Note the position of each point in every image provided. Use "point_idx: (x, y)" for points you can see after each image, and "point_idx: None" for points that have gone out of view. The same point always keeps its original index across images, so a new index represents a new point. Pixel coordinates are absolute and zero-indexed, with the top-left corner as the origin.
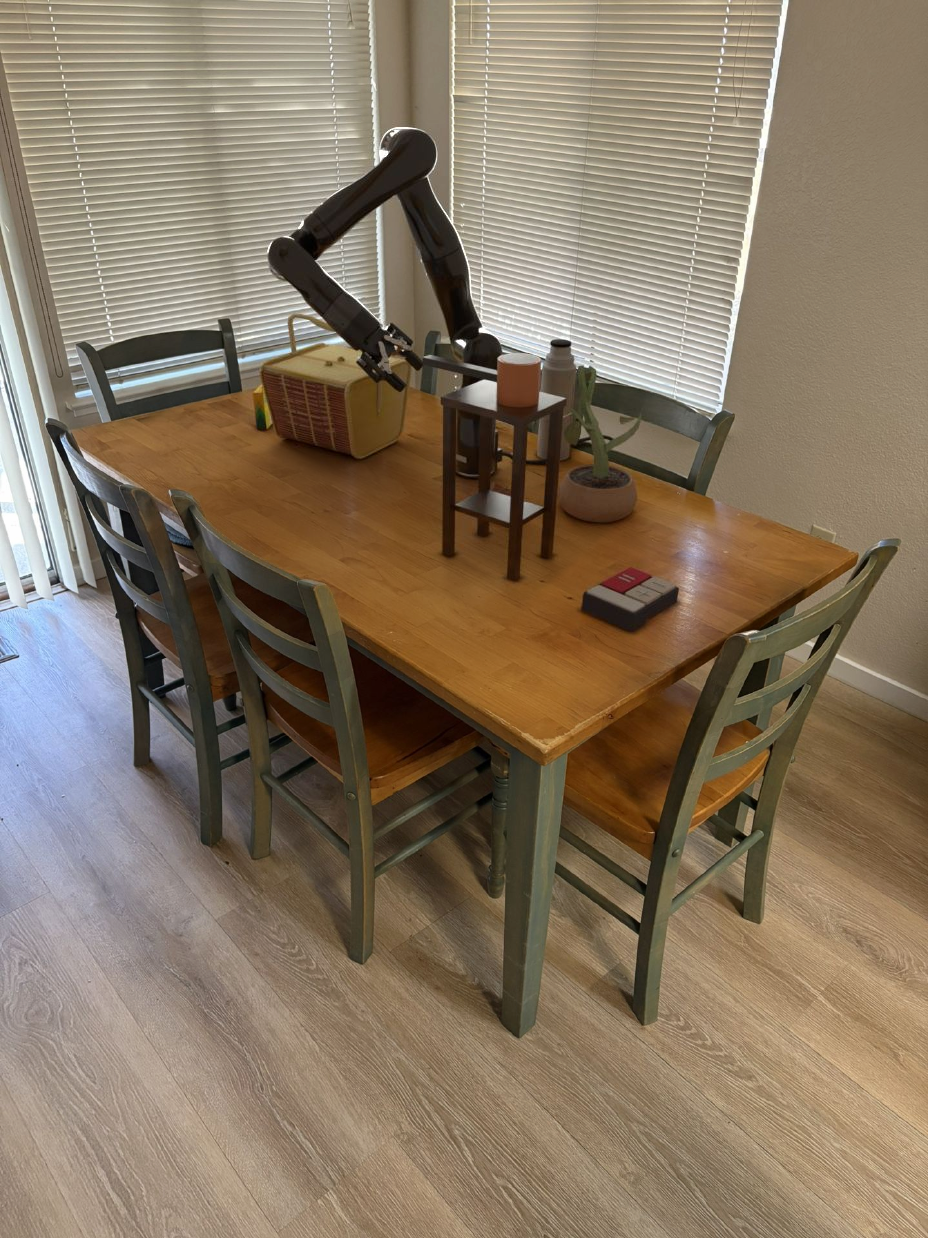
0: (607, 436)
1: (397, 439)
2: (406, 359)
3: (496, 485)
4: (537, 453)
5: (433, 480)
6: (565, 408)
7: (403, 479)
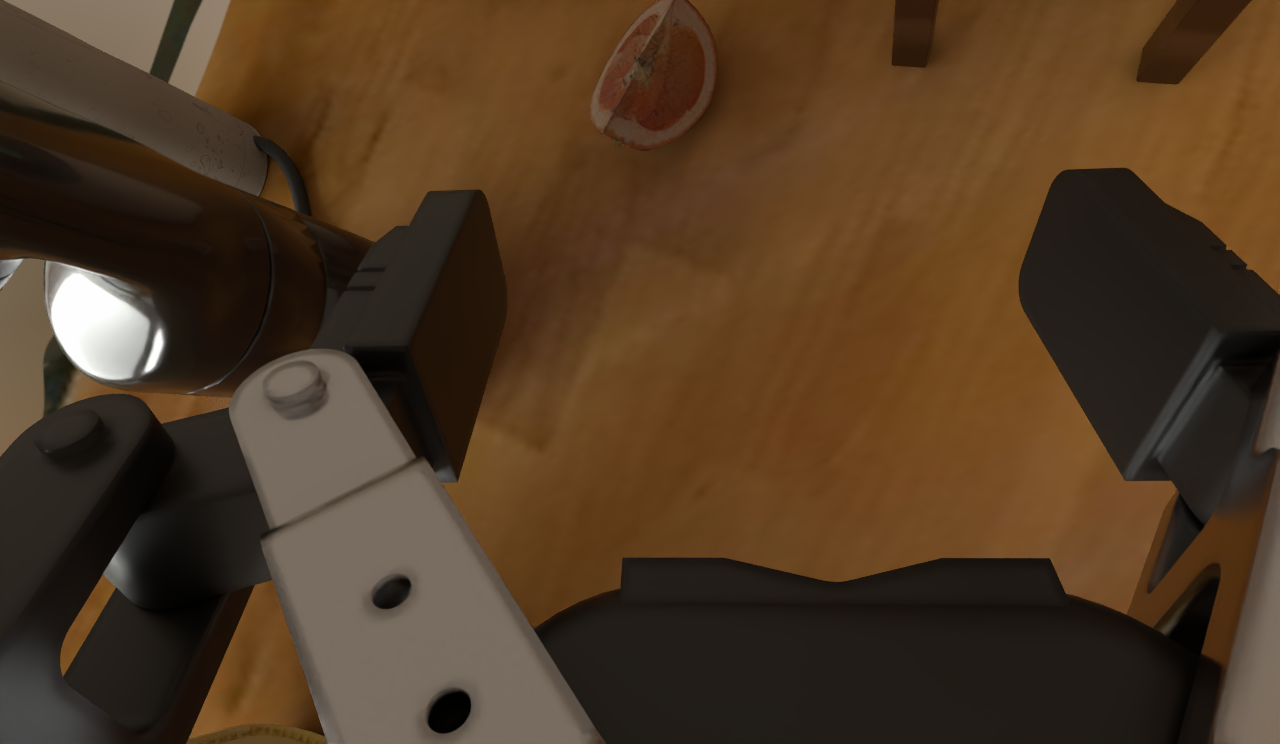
0: None
1: (290, 726)
2: (463, 440)
3: (625, 109)
4: None
5: (555, 440)
6: (64, 33)
7: (592, 551)
